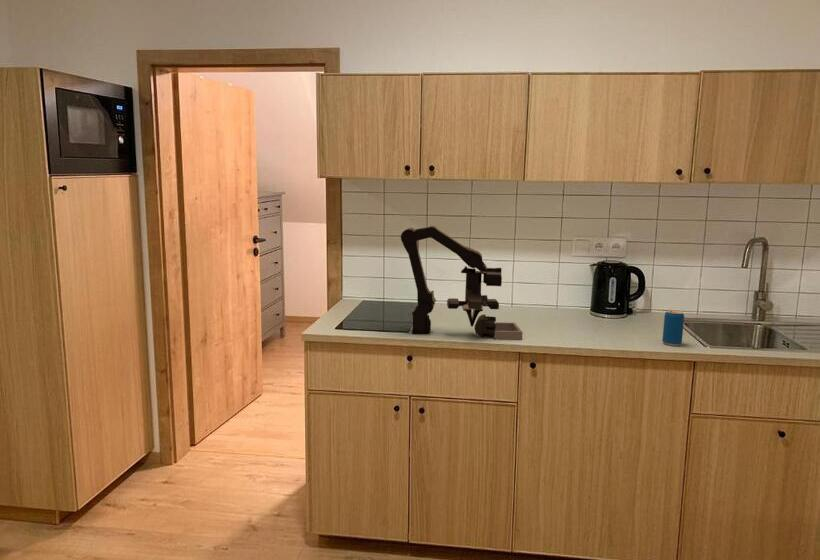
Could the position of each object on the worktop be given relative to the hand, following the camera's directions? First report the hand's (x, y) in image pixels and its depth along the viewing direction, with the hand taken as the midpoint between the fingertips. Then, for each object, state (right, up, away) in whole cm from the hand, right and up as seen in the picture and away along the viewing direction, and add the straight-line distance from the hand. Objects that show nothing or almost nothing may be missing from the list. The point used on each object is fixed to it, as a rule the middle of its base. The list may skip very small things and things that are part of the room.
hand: (471, 326), depth 237 cm
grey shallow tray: (+12, -3, +1) cm, 12 cm away
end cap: (+5, -3, 0) cm, 6 cm away
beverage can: (+71, -6, -8) cm, 72 cm away
